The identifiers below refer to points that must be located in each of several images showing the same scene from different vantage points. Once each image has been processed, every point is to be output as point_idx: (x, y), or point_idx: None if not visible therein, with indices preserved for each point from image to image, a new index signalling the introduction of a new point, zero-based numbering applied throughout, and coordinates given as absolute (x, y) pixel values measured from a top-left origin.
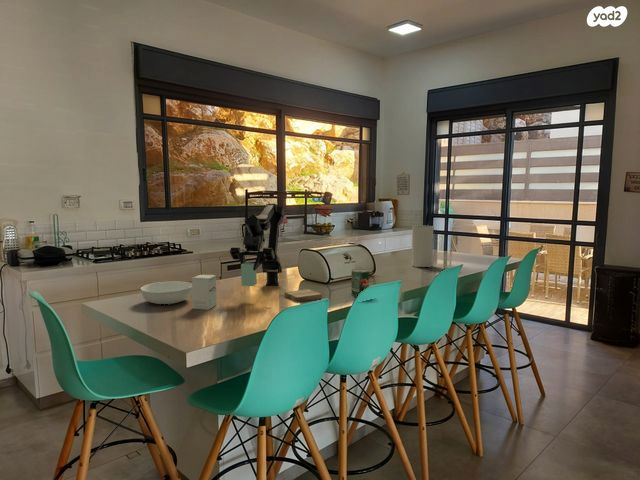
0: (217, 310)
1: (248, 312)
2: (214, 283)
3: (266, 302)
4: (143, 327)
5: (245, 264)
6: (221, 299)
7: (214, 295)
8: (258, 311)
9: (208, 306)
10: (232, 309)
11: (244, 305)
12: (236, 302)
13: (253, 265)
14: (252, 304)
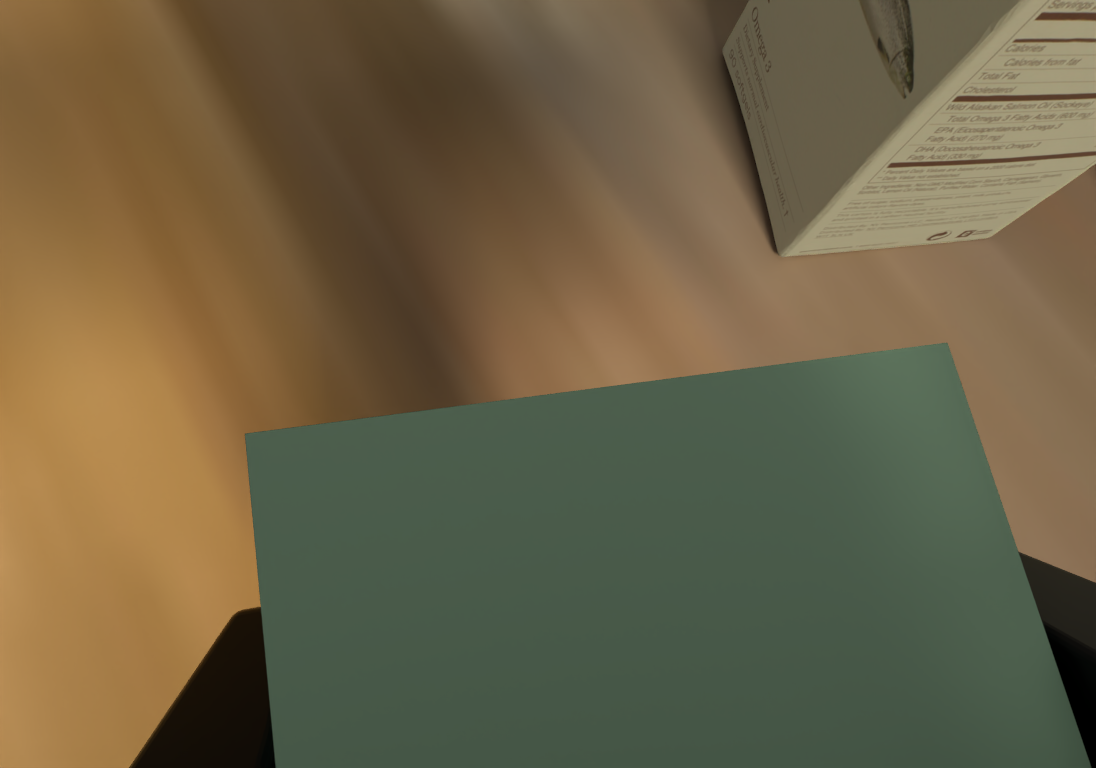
0: (604, 49)
1: (141, 47)
2: None
3: (76, 692)
4: None
5: (738, 422)
6: None
7: (828, 101)
8: (5, 120)
9: (741, 22)
10: (443, 130)
11: (385, 369)
12: None
13: (275, 638)
14: None
